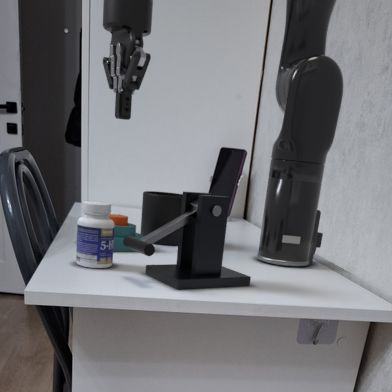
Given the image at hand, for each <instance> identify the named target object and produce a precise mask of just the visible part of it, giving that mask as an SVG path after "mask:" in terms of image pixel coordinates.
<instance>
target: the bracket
mask: <svg viewBox="0 0 392 392" xmlns="http://www.w3.org/2000/svg"><path fill="white" fill-rule="evenodd" d="M182 194H183V196H182V207H181V215H183V214H185V213H187V212H189V211H190V210H192V208H191V205H190V203H192V202H193V201H195V200H197V199H198V209H197V219H194V220H193V221H191V222H189V223H187V224H186V225H184V226H182V227H181V228H180V230H179V241H178V245H177V254H176V263H175V264H174V263H170V264H146V265H145V275H147V276H149V277H151V278H153V279H154V280H155V279H156V280H157V281H160V282H162V283H164V284H166V285H168V286H170V287H172V288H173V289H176V290H191V289H209V288H210V289H211V288H212V289H213V288H229V287H232V288H233V287H249V286H250V285H251V278H252V277H251V276H250V275H247V274H244V273H242V272H239V271H237V270H234V269H231V268H228V267H225V266H223V260H224V251H225V241H226V234H227V224H228V215H229V208H230V207H229V206H230V199H231V198H230V196H225V195H214V194H213V193H211V192H196V191H182Z"/></svg>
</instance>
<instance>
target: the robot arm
mask: <svg viewBox="0 0 392 392" xmlns="http://www.w3.org/2000/svg"><path fill="white" fill-rule="evenodd" d="M285 4H286V5H285V22H284V32H283V39H282V45H281V51H280V57H279V62H278V63H279V64H278V68H277V73H276V81H275V91H274V93H275V99H276V103H277V106H278V109H279V110H280V111H281V113H282V114H283V119H282V125H281V129H280V131H279V134H278V136H277V137H276V139H275V141H274V142H273V144H272V148H271V156H270V158H271V159H270V162H269V171H268V178H267V185H266V192H265V199H264V206H263V214H262V221H261V228H260V234H259V235H260V236H259V244H258V250H257V253H256V259H257V260H259V261H260V262H263V263H268V264H271V265H277V266H284V267H285V266H286V267H306V266H309V265H313V261H314V255H315V253H316V251H317V248H319V249H320V248H321V247H322V241H323V236H324V235H323V234H324V233H323V232H319V226H320V221H321V215H322V212H321V210H319V202H320V197H321V192H322V184H323V179H324V178H323V177H324V173H325V168H326V166H325V165H326V161H327V156H328V154H329V152H330V150H331V148H332V146H333V143H334V140H335V136H336V132H337V128H338V127H337V126H338V122H339V117H340V113H341V109H342V108H341V107H342V103H343V96H344V95H343V94H344V76H343V72H342V69H341V68H340V66H339V63H337V62H336V61H335V60H334V59H333V58H332V57H330V56H327V55H326V50H327V49H326V48H327V38H328V31H329V25H330V22H331V18H332V15H333V12H334V9H335V6H336V4H337V0H286V3H285ZM153 7H154V0H103V8H102V27H103V29H104V30H105V31H107V32H109V33H110V35H111V38H110V39H111V40H110V43H109V56H108V57H107V56H103V58H102V66H103V69H104V73H105V77H106V81H107V84H108V89H109V90H113V91H112V92H113V93H114V94H115V102H114V118H115V119H117V120H118V119H119V120H125V121H126V120H127V121H129V120H130V119H131V118H132V101H133V95H135V92H136V90H137V91H139V90H140V88H141V87H142V83H143V81H144V77H145V76H146V72H147V69H148V68H149V65H150V62H151V57H152V55H151V53H148V52H145V51H144V44H145V43H144V38H145V37H148V36H151V33H152V25H153V24H152V23H153Z"/></svg>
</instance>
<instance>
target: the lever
mask: <svg viewBox="0 0 392 392" xmlns="http://www.w3.org/2000/svg"><path fill="white" fill-rule="evenodd" d="M190 205H191V208H192V210H190V211H189V212H187V213H185V214H183V215H181V216H180V217H178V218H176V219H174V220H173V221H171V222H169V223H167V224H166V225H164V226H162V227H160V228H159V229H157V230H155V231H153V232H151V233H150V234H148V235H146V236H144V237H143V238H141V239H137V238H134V237H132V236H126V237H125V238H124V240H123V244H124V246H125V247H128V248H130V249H132V250H135V251H134V252H137V253H140V254H142V255H144V256H146V257H151V256H153V255H154V254H155V252H156V248H155V246H154V244H155V243H154V242H156V241H158V240H160V239H161V238H163V237H165V236H167V235H168V234H170V233H172V232H174V231H175V230H177V229H179V228H181V227H182V226H184V225H186V224H187V223H189V222H191V221H193V220H194V219H197V209H198V199H197V200H195V201H193V202H192V203H190Z"/></svg>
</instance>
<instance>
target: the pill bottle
mask: <svg viewBox="0 0 392 392" xmlns="http://www.w3.org/2000/svg"><path fill="white" fill-rule="evenodd" d="M81 209H82V213H83V216H81V217H79V218H78V219H77V223H76V224H77V225H76V249H75V250H76V251H75V253H76V255H75V261H76V264H77V265H79V266H81V267H84V268H85V267H86V268H92V269H106V268H110V267H112V266H113V262H114V261H113V260H114V251H113V245H114V222H113V221H112V220H111V219H109V215H110V214H111V213H112V204H111V203H109V202H105V201H104V202H103V201H94V200H93V201H90V200H85V201H82V208H81Z"/></svg>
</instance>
